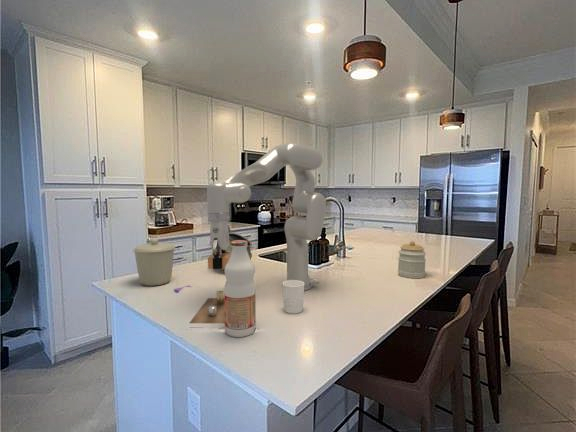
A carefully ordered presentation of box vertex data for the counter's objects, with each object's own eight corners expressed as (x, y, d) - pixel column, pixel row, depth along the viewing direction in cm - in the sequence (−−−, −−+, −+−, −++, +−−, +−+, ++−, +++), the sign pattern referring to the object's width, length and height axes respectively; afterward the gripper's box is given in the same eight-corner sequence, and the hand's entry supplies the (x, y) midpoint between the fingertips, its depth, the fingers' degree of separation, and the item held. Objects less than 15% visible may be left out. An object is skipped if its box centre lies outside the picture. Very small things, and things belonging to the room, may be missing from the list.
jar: (431, 277, 158) (432, 242, 157) (410, 280, 153) (411, 243, 152) (412, 271, 170) (413, 238, 169) (392, 273, 165) (393, 239, 164)
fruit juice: (236, 341, 92) (234, 245, 90) (219, 330, 99) (217, 241, 97) (261, 331, 98) (261, 241, 96) (244, 321, 105) (243, 237, 103)
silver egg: (217, 314, 108) (217, 305, 108) (215, 317, 105) (215, 308, 105) (209, 314, 108) (209, 305, 108) (208, 317, 105) (207, 308, 105)
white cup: (291, 304, 121) (291, 278, 120) (308, 309, 116) (308, 282, 115) (278, 310, 115) (277, 283, 114) (295, 316, 110) (295, 287, 109)
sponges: (187, 299, 128) (187, 295, 128) (173, 292, 137) (173, 288, 137) (203, 295, 133) (203, 291, 133) (188, 289, 142) (188, 284, 142)
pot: (206, 270, 172) (205, 223, 170) (238, 263, 186) (238, 221, 184) (226, 277, 157) (225, 227, 155) (260, 270, 171) (259, 224, 169)
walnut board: (239, 302, 124) (239, 298, 124) (227, 327, 101) (227, 323, 101) (208, 301, 124) (208, 298, 124) (189, 327, 101) (189, 323, 101)
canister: (140, 291, 136) (138, 242, 135) (129, 282, 150) (127, 237, 148) (182, 283, 148) (180, 238, 146) (168, 275, 162) (167, 234, 160)
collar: (231, 263, 120) (231, 253, 120) (227, 268, 113) (227, 257, 113) (212, 263, 120) (212, 253, 120) (208, 268, 113) (207, 257, 113)
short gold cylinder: (224, 302, 119) (223, 290, 118) (222, 305, 116) (222, 292, 116) (217, 302, 119) (217, 290, 118) (216, 304, 116) (215, 292, 116)
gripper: (223, 220, 106) (225, 272, 108) (233, 215, 124) (234, 260, 125) (201, 220, 106) (203, 272, 108) (214, 215, 124) (215, 260, 125)
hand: (220, 265), depth 117 cm, fingers closed on collar, 7 cm apart
